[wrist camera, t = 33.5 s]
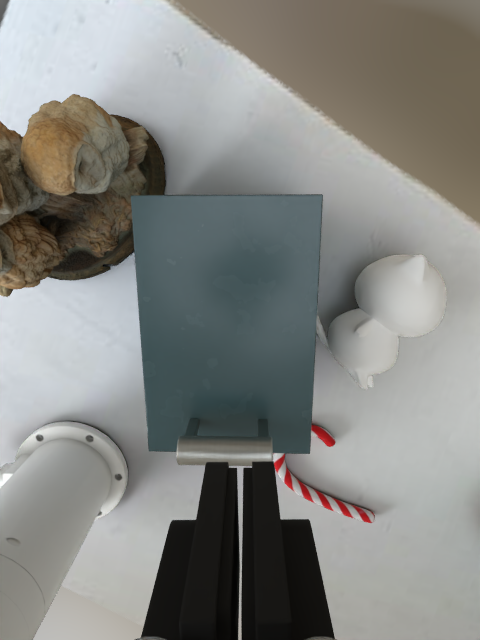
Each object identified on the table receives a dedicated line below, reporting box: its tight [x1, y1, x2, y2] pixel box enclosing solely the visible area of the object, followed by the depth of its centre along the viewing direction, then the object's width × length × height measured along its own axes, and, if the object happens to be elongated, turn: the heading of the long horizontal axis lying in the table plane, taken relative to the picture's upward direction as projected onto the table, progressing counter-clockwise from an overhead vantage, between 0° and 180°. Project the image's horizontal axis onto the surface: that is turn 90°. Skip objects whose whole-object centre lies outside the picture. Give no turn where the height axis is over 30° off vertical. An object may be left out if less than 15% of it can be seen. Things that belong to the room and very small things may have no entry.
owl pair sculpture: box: [0, 94, 166, 297], centre depth 29 cm, size 18×12×17 cm, turn 139°
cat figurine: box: [316, 254, 447, 390], centre depth 36 cm, size 9×11×12 cm
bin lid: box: [131, 194, 323, 466], centre depth 25 cm, size 18×12×5 cm, turn 0°
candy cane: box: [273, 425, 375, 523], centre depth 43 cm, size 8×1×15 cm
